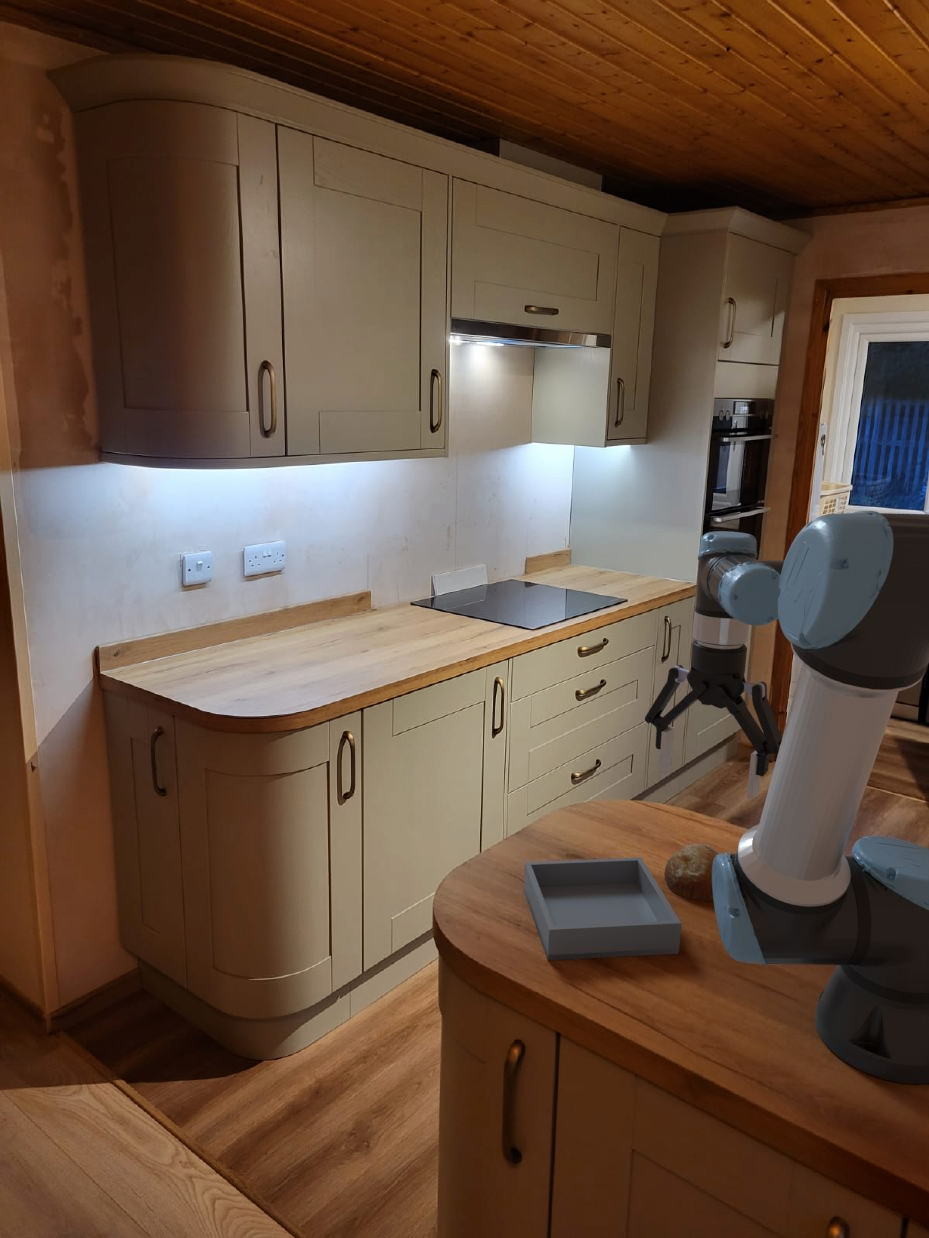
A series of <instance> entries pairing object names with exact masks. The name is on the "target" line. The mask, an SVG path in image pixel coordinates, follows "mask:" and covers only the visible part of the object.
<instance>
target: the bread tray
mask: <svg viewBox="0 0 929 1238" xmlns="http://www.w3.org/2000/svg"><path fill="white" fill-rule="evenodd" d="M523 870H524V871H523V872H524V873H523V892H524V895H525V898H526V901H527V903H528V907H529V910H530V913H531V915H532V918H533V922H534V925H535V928H536V931H537V934H538V936H539V939H540V942H541V946H542V948H543V951H544V954H545V956H546V960H547V961H563V960H564V961H567V960H568V961H569V960H581V959H582V960H583V959H584V960H585V959H601V958H602V959H603V958H604V959H605V958H619V957H624V958H625V957H636V956H637V957H639V956H640V957H641V956H656V955H657V956H659V955H677V954H680V944H681V932H682V931H681V930H682V922H681V921H680V918H679V917H678V915H677V914H676V912H675V910H674V909H673V907H672V906H671V903H670V902H669V901H668V899H667V897H666V895H665V894H664V892H663V891H662V889H661V887H660V886H659V883H658V882H657V881H656V879H655V878H654V876H653V874H652V873H651V871H650V869H649V868H648V866H647V864H646V863H645V862H644V860H643V858H642V856H641V857H622V858H621V857H619V858H618V857H617V858H616V857H615V858H598V859H597V858H595V859H591V858H590V859H575V860H574V859H572V860H571V859H570V860H569V859H568V860H567V859H566V860H549V861H547V860H546V861H525V862H524V869H523Z"/></svg>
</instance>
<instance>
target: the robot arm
mask: <svg viewBox="0 0 929 1238" xmlns="http://www.w3.org/2000/svg"><path fill="white" fill-rule="evenodd" d="M757 558H758V551H757V538H756V537H755V536H754V535H752V534H749V533H745V532H738V531H725V530H723V531H722V530H721V531H720V530H719V531H709V532H706V533H705V534H704V535H702V537H701V538H700V546H699V552H698V555H697V560H698V564H697V565H698V566H697V579H696V592H695V607H694V618H693V628H692V638H693V639H694V641H693V642H692V644H691V653H690V655H691V657H690V669H689V670H688V669H686V668H684V666H683V665H682V664H677V665H675V666H673V667H671V668H669V670H668V674H667V680H666V682H665V684H664V686H663V688H662V689H661V691H660V692H659V693H658V695H657V696H656V698H655V700H654V702H653V704H652V705H651V707H650V708H649V710H648V712H647V713H646V714H645V717H644V721H645V723H648V724H651V725H653V726H654V727H655V728H656V729H655V730H656V732H655V748H656V749H657V750H660V751H659V767H658V773H660V774H662V775H663V774H665V773H667V772H669V771H670V770H672V767H673V752H674V738H675V727H672V726H670V725H671V724H672V723H673V722H675V720H677V719H678V718H679V717H680V716H681V715H682V714H683V713H685V712H686V711H687V709H689V708H690V707H691V706H693V704H694V703H696V702H697V701H699V703H701V705H704V706H713V707H715V708H717V709H722V710H723V709H724V708H726V709H727V711H728V713H729V714H730V715H732V716H733V717H734V719H735V720H736V722H737V723H738V725H739V727H740V728H741V729H742V732H743V733H744V734H745V736H746V738H747V739H748V740H749V741H748V742H750V744H751V745H752V747H753V748H754V751H753V752H752V753H751V754H750V761H749V772H748V783H747V794H746V797H747V798H748V799H753V798H755V797H756V796H758V794H759V793H760V788H761V777H764V776H765V775H767V773H768V771H769V767H770V766H769V764H770V757H771V756H770V755H771V754H772V755H777V757H776V761H775V765H774V768H773V771H772V772H773V773H772V775H771V779H770V783H769V786H768V790H767V793H766V794H767V795H766V798H765V802H764V804H763V805H764V806H763V809H762V813H761V816H760V820H759V823H758V824H756V825H754V826H752V827H750V828H749V829H747V830H746V831H745V832H744V833H743V835H742V836H741V838H740V840H739V842H738V845H737V846H738V847H737V850H736V852H735V853H731V852H730V851H727V852H724V853H719V855H717V856H716V857H715V858H714V860H713V865H712V889H713V899H714V901H713V905H714V913H715V918H716V923H717V928H718V932H719V935H720V939H721V942H722V944H723V947H724V949H725V951H726V952H727V954H728V955H729V956H730V957H731V958H732V959H733V960H736V961H737V962H740V963H747V964H748V963H749V964H760V965H761V966H768V965H794V966H795V965H798V966H799V965H804V966H806V965H809V966H810V965H812V966H813V965H814V966H815V965H816V966H817V965H819V966H820V965H821V966H822V965H825V966H836V967H835V969H834V970H833V973H832V974H831V976H830V978H829V980H828V981H827V983H826V986H825V988H824V989H823V991H822V992H821V993H820V994H819V996H818V999H817V1002H816V1009H815V1017H814V1022H815V1023H814V1025H815V1029H816V1032H817V1035H819V1037H820V1039H821V1041H822V1043H824V1045H825V1046H826V1047H827V1048H828V1049H829V1050H830V1051H831V1052H832V1053H834V1054H835V1055H836V1056H837V1057H838V1058H840V1059H841V1060H842V1061H844V1062H846V1063H847V1064H848V1065H850V1066H852V1067H854V1068H856V1069H857V1070H860V1071H862V1072H863V1073H866V1074H869V1075H872V1076H873V1077H876V1078H880V1079H883V1080H887V1081H890V1082H891V1081H892V1082H895V1083H896V1082H897V1083H899V1084H900V1083H901V1084H902V1083H903V1084H909V1085H910V1084H911V1085H912V1084H914V1085H919V1084H921V1085H923V1084H929V848H926V847H924V846H921V845H919V844H917V843H914V842H911V841H909V840H904V839H901V838H896V837H891V836H884V835H866V836H864V837H862V838H860V839H857V840H856V841H855V842H854V845H853V846H852V847H851V855H845V854H844V852H845V850H846V849H845V848H846V846H847V842H848V840H849V838H850V834H851V831H852V828H853V825H854V823H855V820H856V817H857V813H858V811H859V808H860V806H861V802H862V799H863V796H864V793H865V790H866V788H867V784H868V783H869V779H870V776H871V773H872V771H873V768H874V764H875V762H876V759H877V755H878V753H879V750H880V748H881V747H880V746H881V744H882V741H883V738H884V736H885V732H886V730H887V727H888V723H889V722H890V718H891V716H892V712H893V710H894V706H895V703H896V701H897V698H898V695H899V692H901V691H905V690H907V689H910V688H913V687H914V686H915V685H918V683H920V682H921V680H922V679H923V677H924V676H925V674H926V672H927V669H928V666H929V514H927V513H893V512H892V513H890V512H889V513H886V512H884V513H883V512H878V511H874V510H858V511H854V512H844V513H841V512H839V513H838V512H837V513H828V514H823V515H820V516H818V517H816V518H815V519H814V520H812V521H810V522H808V523H807V524H805V525H804V526H803V528H802V529H801V530H800V531H799V532H798V534H797V535H796V536H795V538H794V540H793V542H792V543H791V545H790V547H789V549H788V552H787V553H786V556H785V558H784V560H780V559H779V560H778V559H777V560H775V559H757ZM777 620H778V621H779V622H778V623H779V626H780V629H781V631H782V633H783V635H784V637H785V638H786V639H787V640H788V641H789V642H790V647H791V651H792V653H793V654H794V656H795V657H796V659H797V660H798V662H799V663H800V664H801V667H800V670H799V674H798V679H797V681H796V686H795V690H794V692H793V697H792V701H791V704H790V708H789V712H788V715H787V719H786V724H785V727H784V730H783V734H781V732H780V729H779V725H778V723H777V721H776V718H775V716H774V713H773V710H772V707H771V705H770V702H769V699H768V686H767V683H766V682H765V681H760V682H747V680H746V677H745V673H746V667H747V666H746V665H747V655H748V646H746V643H747V642H748V639H749V632H750V631H749V630H750V626H765V625H767V624H771V623H772V622H774V621H777ZM686 680H687V682H688V684H689V686H690V688H691V691H690V692H688V693H687V694H686V695H685V696H684V697H683V698H682V699H681V700H680V701H679V702H678V703H677V704H675V706H674V707H673V708H671V709H670V710H669V711H667V713H665V714H664V716H661V715H662V713H663V712H664V711H665V709H666V707H667V706H668V704H669V702H670V701H671V699H672V697H673V696H674V695H675V692H676V691H677V689H678V688H679V686H680V685H681V683H683V682H685V681H686ZM745 692H746V693H747V694H748V698H749V699H751V700H752V705H753V706H752V707H753V709H754V711H755V714H756V718H758V722H759V724H758V723H757V721H756V720H755V718H754V716H753V715H752V714H751V712H750V711H749V709H748V707H747V703H746V701H745V700H744V697H742V694H744V693H745ZM759 725H760V726H759ZM760 727H761V728H760Z"/></svg>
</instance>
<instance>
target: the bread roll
mask: <svg viewBox="0 0 929 1238" xmlns="http://www.w3.org/2000/svg"><path fill="white" fill-rule="evenodd" d="M719 854H720V852H718V851H717V850H715V849H714V848H713V847H711V846H710V845H709V844H704V843H695V844H688V845H686V846H684V847H682V848H680V849H679V850H677V851H676V852H674V853H672V855H671V856H670V857H669V859H668V860H667V863H666V865H665V868H664V874H663V875H664V881H665V883H666V885H667V886H668V888H669V889H670V890H671V891H672V892H674V893H675V894H677V895H679V896H680V897H683V896H684V898H687V897H688V899H692V900H697V901H701V902H714V899H713V889H712V865H713V860H714V858H715V857H716V856H717V855H719Z"/></svg>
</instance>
